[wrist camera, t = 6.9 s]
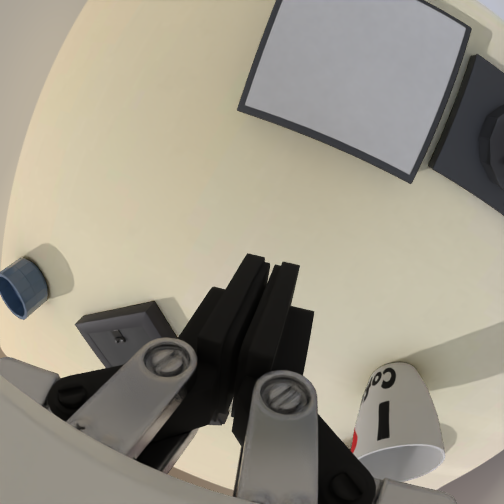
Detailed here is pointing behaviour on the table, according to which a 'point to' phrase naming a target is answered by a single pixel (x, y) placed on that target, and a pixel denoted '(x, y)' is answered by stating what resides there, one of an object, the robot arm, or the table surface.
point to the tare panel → (476, 135)
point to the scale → (358, 76)
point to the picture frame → (126, 334)
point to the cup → (397, 425)
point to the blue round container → (23, 287)
